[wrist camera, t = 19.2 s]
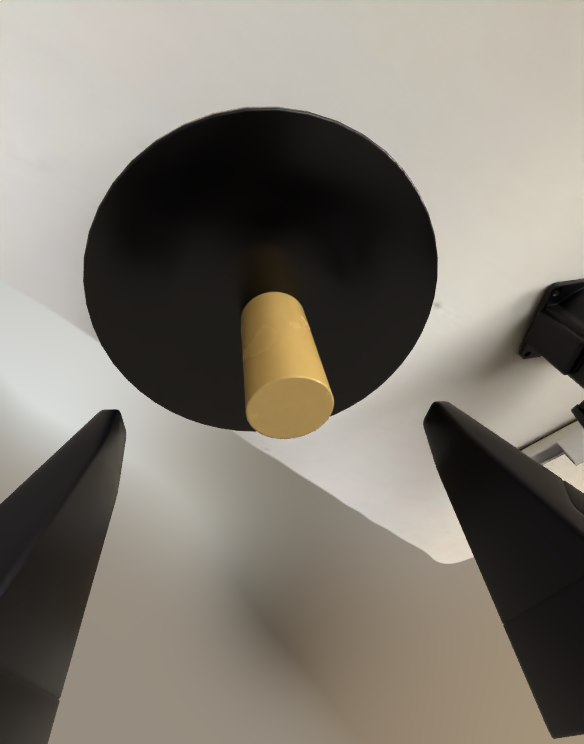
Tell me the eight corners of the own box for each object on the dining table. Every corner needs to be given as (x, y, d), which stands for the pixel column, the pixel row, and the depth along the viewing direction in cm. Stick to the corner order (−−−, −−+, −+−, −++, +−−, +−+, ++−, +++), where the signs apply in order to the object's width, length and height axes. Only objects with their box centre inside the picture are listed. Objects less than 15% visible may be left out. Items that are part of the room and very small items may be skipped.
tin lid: (460, 83, 11) (647, 81, 6) (401, 394, 19) (457, 492, 15) (7, 130, 10) (-197, 171, 5) (162, 432, 19) (140, 550, 14)
